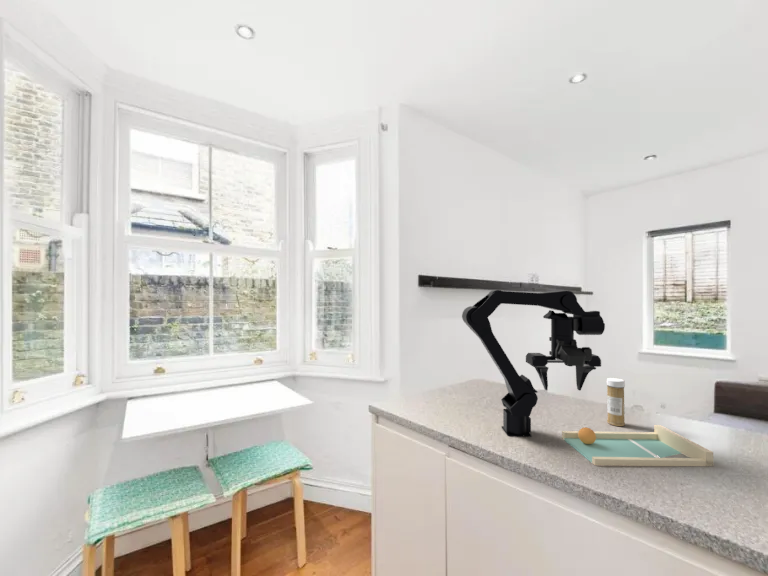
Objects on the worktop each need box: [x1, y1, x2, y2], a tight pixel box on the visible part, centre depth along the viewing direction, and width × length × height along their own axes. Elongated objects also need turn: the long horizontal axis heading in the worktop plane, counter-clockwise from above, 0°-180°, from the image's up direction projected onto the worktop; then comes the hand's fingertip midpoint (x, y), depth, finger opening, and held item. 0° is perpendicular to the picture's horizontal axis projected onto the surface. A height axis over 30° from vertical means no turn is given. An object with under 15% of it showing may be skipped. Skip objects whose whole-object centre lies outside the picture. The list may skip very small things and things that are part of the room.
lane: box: [561, 424, 714, 467], centre depth 87 cm, size 26×16×4 cm, turn 88°
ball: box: [578, 427, 596, 444], centre depth 91 cm, size 4×4×4 cm
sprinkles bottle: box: [606, 377, 626, 427], centre depth 106 cm, size 5×5×14 cm
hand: (562, 389), depth 100 cm, fingers open, 9 cm apart
